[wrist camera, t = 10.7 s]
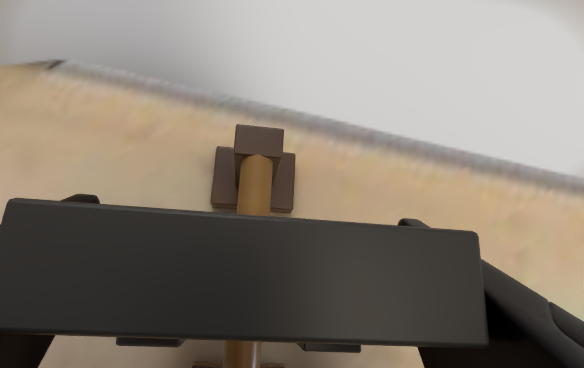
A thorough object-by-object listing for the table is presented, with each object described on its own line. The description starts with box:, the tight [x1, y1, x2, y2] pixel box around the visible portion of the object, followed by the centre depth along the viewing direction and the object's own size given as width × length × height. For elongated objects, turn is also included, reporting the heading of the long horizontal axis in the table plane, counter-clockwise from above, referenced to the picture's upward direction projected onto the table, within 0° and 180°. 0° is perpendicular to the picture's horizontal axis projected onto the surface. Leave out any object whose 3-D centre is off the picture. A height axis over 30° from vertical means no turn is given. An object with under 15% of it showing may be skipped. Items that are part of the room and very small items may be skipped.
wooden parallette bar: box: [192, 124, 295, 368], centre depth 15 cm, size 13×4×6 cm, turn 177°
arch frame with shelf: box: [0, 198, 489, 353], centre depth 10 cm, size 7×4×10 cm, turn 87°
